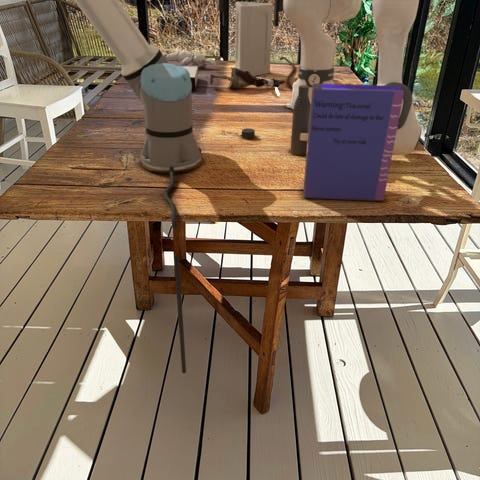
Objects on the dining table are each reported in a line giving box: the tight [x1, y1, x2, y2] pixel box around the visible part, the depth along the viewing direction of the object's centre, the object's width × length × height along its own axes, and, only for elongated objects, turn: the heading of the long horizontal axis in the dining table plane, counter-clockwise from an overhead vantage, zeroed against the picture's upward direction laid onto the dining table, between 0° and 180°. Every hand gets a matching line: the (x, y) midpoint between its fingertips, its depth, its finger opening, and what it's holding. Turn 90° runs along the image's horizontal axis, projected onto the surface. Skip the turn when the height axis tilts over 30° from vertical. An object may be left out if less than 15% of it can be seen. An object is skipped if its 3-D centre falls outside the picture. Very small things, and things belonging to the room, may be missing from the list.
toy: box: [161, 50, 218, 68], centre depth 224 cm, size 24×25×7 cm
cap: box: [241, 127, 256, 140], centre depth 141 cm, size 4×4×2 cm
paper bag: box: [234, 1, 274, 77], centre depth 210 cm, size 19×15×28 cm
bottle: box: [289, 85, 311, 156], centre depth 127 cm, size 5×5×18 cm
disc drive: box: [182, 65, 199, 92], centre depth 195 cm, size 18×22×5 cm
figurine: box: [209, 66, 287, 89], centre depth 190 cm, size 24×8×30 cm
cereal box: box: [302, 83, 404, 202], centre depth 102 cm, size 17×5×24 cm, turn 86°
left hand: (250, 25), depth 126 cm, fingers open, 13 cm apart
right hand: (302, 130), depth 128 cm, fingers open, 8 cm apart
